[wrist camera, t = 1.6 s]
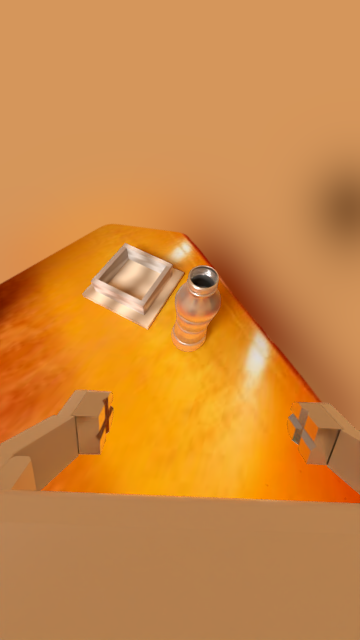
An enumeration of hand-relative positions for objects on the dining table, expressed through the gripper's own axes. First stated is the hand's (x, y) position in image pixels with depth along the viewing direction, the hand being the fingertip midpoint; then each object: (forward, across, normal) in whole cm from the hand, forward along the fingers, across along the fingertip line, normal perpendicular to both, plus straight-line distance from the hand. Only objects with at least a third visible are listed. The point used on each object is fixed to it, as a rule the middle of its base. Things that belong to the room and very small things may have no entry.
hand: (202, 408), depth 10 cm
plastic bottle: (+32, -2, +10) cm, 34 cm away
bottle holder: (+41, +10, +1) cm, 42 cm away
